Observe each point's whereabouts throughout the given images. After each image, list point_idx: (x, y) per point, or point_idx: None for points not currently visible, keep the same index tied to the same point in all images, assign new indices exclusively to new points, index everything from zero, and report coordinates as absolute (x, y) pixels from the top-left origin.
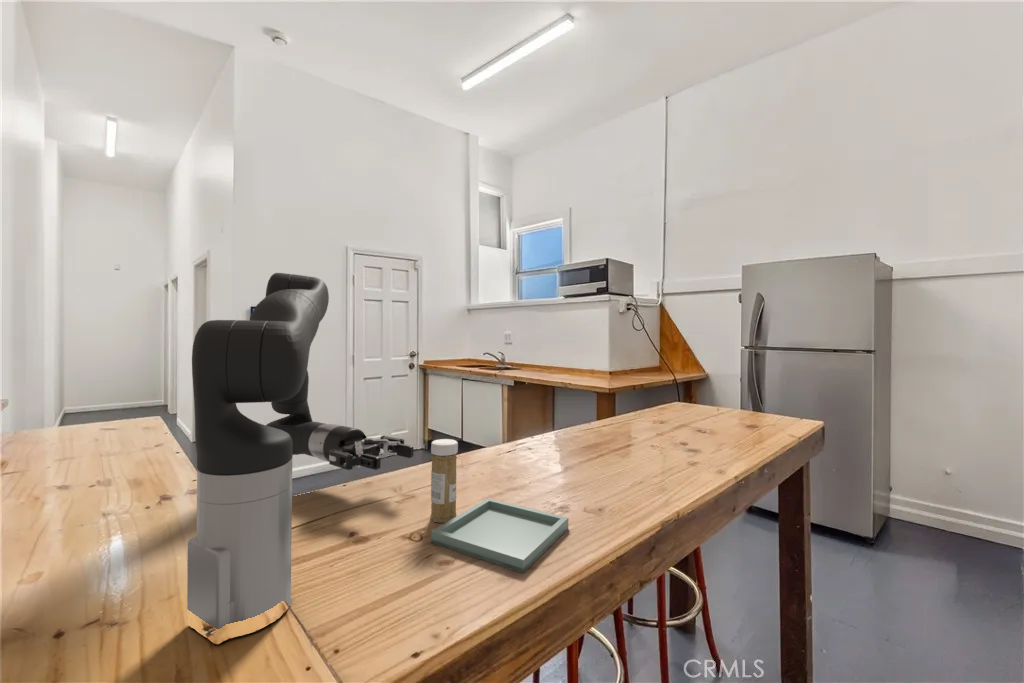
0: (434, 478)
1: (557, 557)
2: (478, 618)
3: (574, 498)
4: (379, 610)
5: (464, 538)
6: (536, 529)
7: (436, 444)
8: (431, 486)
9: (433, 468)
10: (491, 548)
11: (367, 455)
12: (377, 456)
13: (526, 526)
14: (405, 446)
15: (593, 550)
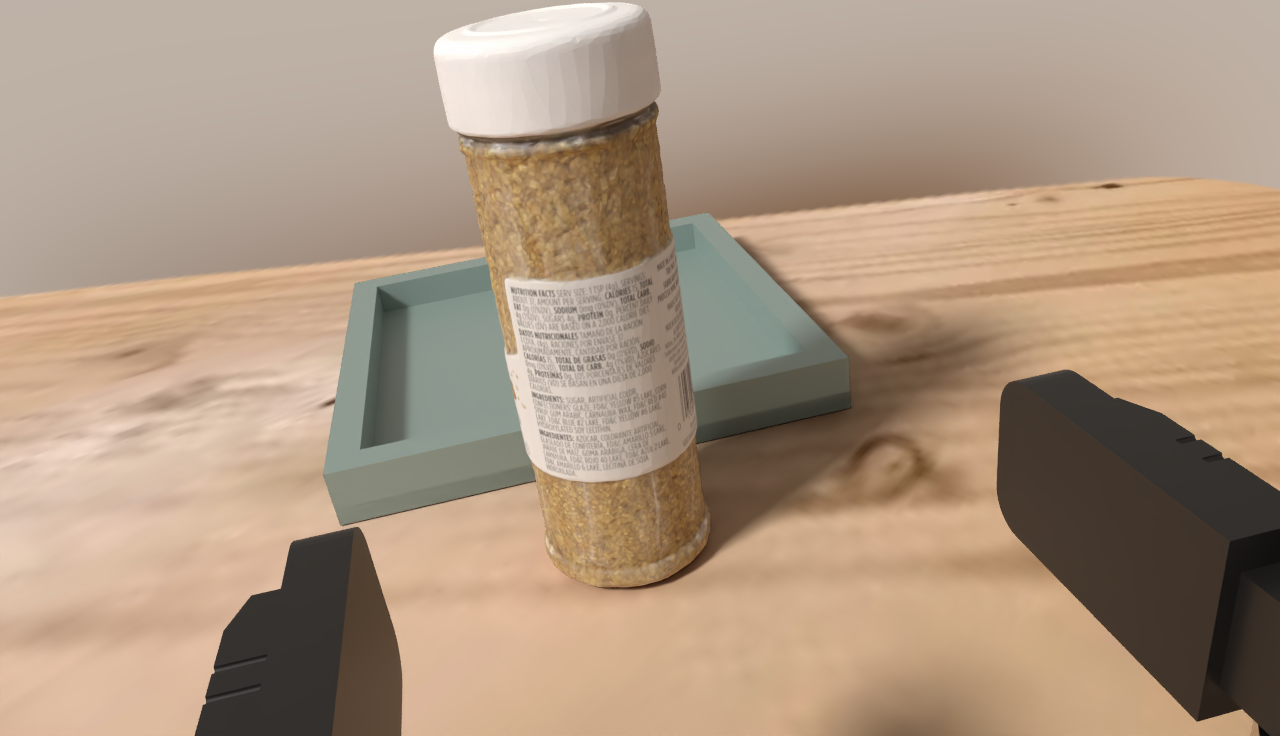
0: (677, 270)
1: None
2: (930, 205)
3: (20, 431)
4: (1176, 255)
5: (765, 296)
6: (465, 319)
7: (639, 6)
8: (678, 355)
9: (664, 213)
10: (735, 251)
11: (1202, 467)
12: (1040, 391)
13: (465, 338)
14: (353, 595)
15: (467, 256)
